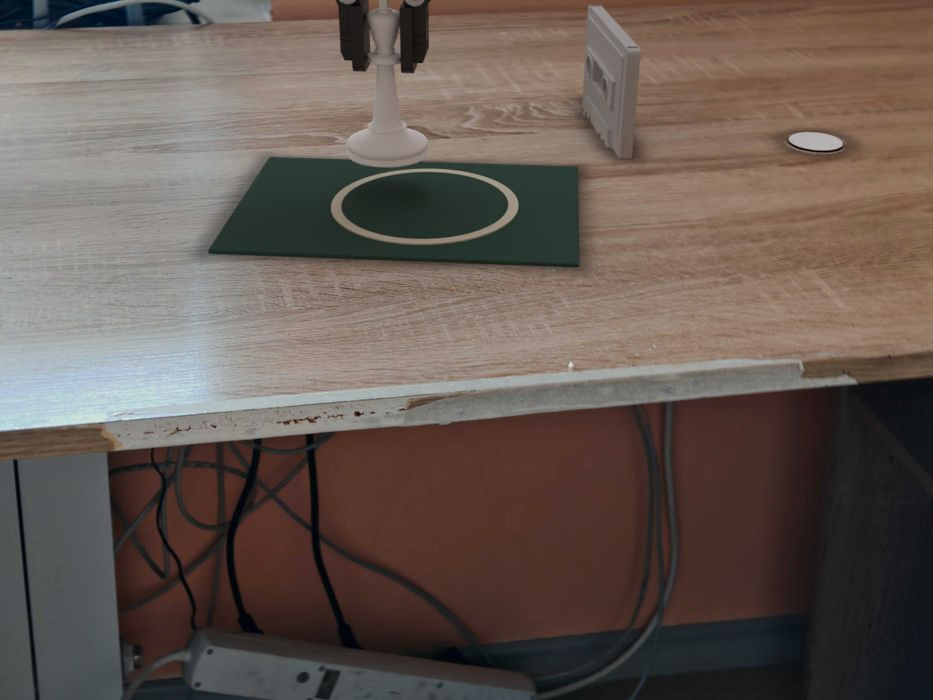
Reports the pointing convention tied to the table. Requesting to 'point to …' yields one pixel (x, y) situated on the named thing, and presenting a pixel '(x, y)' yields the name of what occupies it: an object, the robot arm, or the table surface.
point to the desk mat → (408, 213)
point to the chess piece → (386, 104)
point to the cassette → (610, 81)
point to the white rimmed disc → (815, 142)
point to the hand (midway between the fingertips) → (386, 67)
